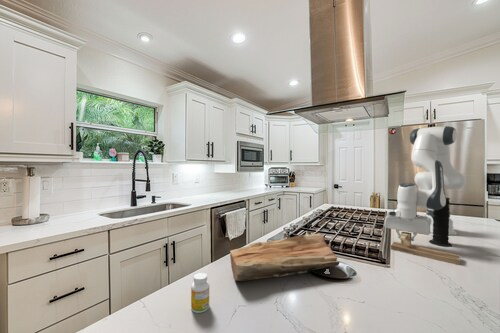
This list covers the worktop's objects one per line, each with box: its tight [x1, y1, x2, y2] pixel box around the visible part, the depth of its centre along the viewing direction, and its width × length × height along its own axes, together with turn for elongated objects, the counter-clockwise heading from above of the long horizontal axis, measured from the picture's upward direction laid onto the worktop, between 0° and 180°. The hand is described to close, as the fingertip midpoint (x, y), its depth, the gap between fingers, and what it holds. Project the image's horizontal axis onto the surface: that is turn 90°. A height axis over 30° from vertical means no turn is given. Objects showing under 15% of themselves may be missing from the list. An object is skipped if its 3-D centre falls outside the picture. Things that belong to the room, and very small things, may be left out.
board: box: [390, 241, 461, 266], centre depth 112 cm, size 8×26×2 cm, turn 47°
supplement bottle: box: [190, 272, 210, 314], centre depth 69 cm, size 5×5×10 cm
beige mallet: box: [399, 231, 412, 245], centre depth 120 cm, size 12×4×6 cm, turn 137°
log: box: [229, 232, 340, 282], centre depth 91 cm, size 42×18×15 cm, turn 104°
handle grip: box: [428, 196, 453, 248], centre depth 127 cm, size 10×26×10 cm
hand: (406, 239), depth 123 cm, fingers closed on beige mallet, 4 cm apart
